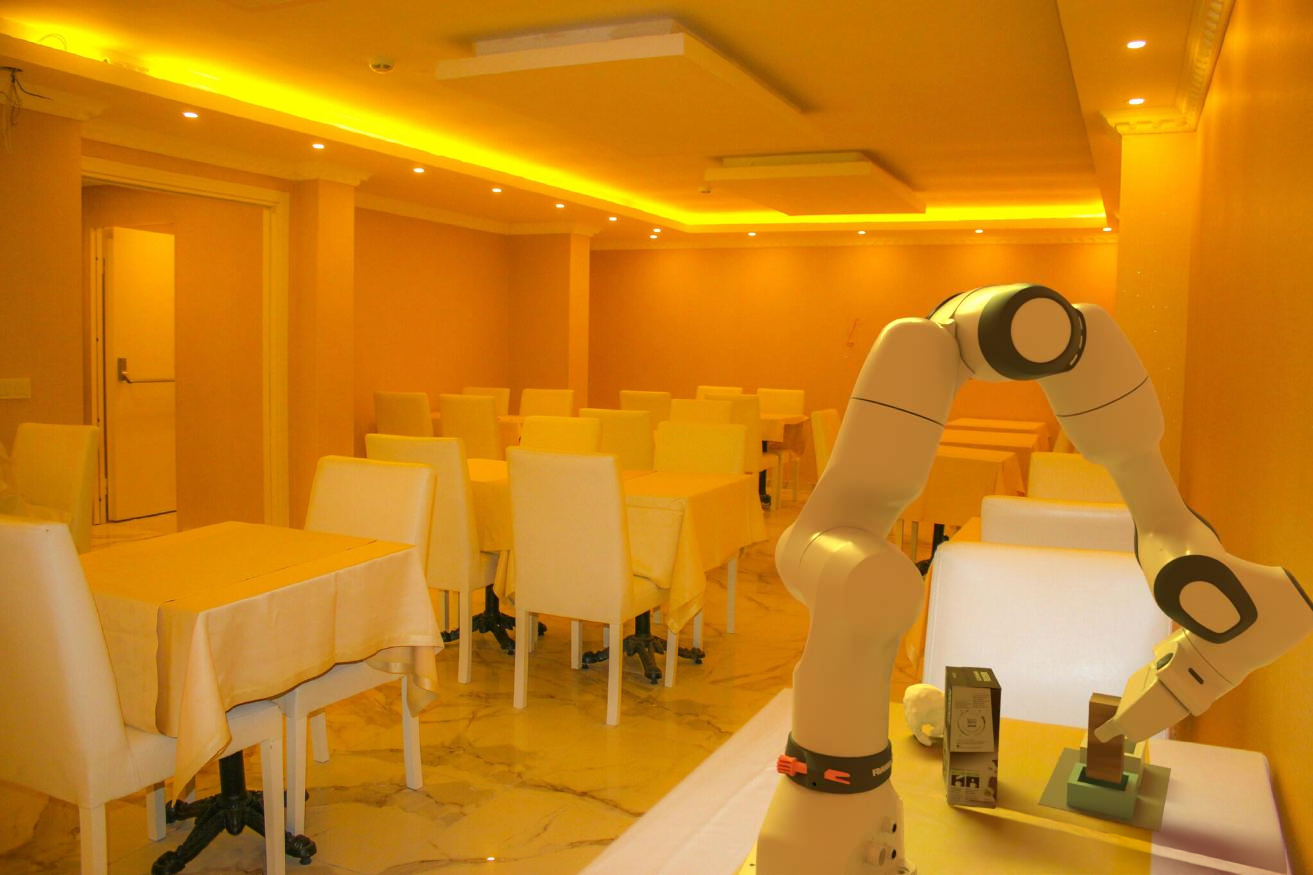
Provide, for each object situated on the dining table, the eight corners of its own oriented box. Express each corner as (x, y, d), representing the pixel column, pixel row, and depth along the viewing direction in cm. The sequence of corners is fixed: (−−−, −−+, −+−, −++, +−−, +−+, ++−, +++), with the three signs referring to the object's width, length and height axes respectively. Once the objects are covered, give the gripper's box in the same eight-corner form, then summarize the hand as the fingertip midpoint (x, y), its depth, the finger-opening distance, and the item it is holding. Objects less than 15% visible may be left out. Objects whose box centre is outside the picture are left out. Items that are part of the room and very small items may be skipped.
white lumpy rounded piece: (901, 677, 153) (976, 683, 153) (894, 730, 153) (969, 736, 154) (914, 690, 147) (992, 697, 147) (907, 745, 147) (984, 752, 148)
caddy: (1158, 839, 119) (1160, 799, 119) (1037, 811, 127) (1039, 773, 126) (1170, 775, 138) (1172, 740, 138) (1064, 753, 145) (1065, 721, 145)
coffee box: (998, 809, 127) (1002, 688, 126) (946, 804, 128) (950, 684, 127) (988, 780, 136) (993, 666, 135) (940, 776, 137) (944, 663, 136)
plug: (1120, 783, 125) (1123, 706, 124) (1086, 776, 127) (1089, 701, 126) (1123, 772, 128) (1126, 697, 127) (1090, 765, 130) (1093, 692, 129)
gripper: (1175, 628, 131) (1093, 687, 137) (1165, 669, 114) (1071, 734, 119) (1212, 666, 129) (1127, 724, 135) (1207, 714, 112) (1110, 778, 118)
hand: (1101, 729), depth 127 cm, fingers closed on plug, 4 cm apart
